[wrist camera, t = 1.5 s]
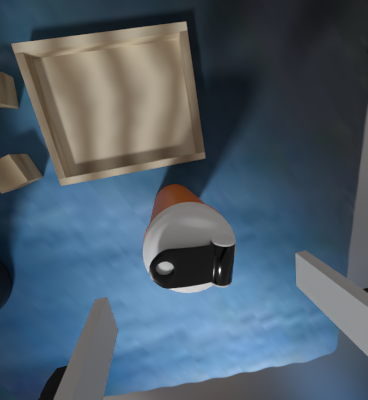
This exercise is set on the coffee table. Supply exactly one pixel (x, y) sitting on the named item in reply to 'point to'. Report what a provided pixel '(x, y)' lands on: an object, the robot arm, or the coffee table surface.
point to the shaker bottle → (187, 243)
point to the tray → (114, 100)
